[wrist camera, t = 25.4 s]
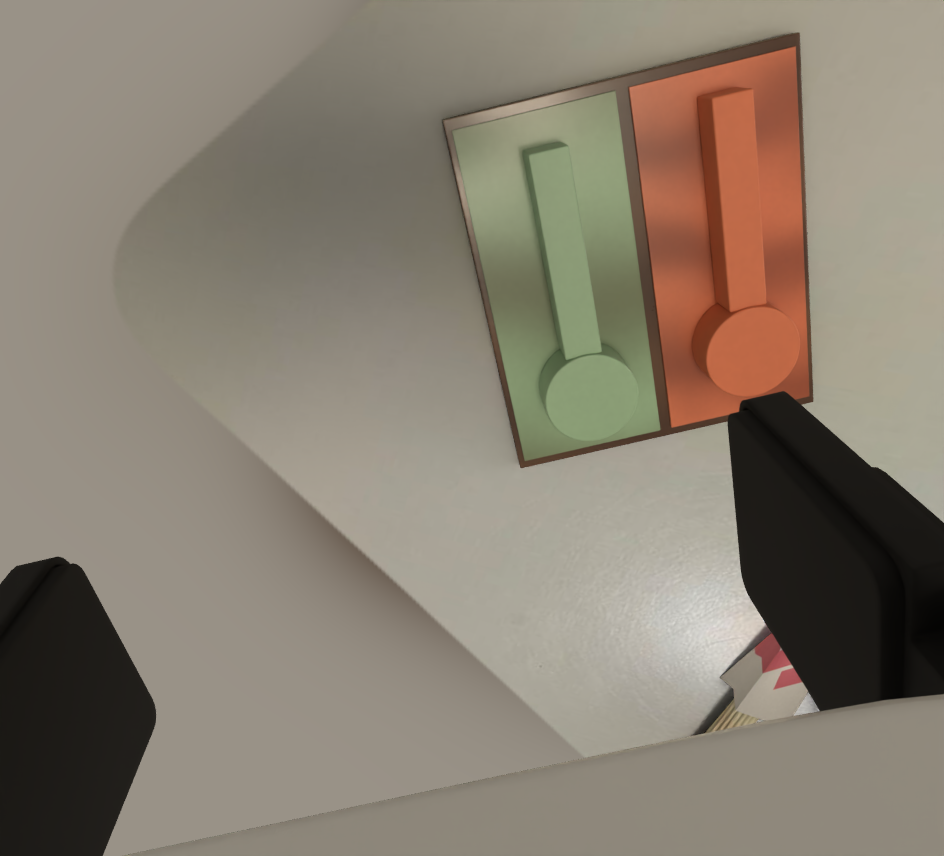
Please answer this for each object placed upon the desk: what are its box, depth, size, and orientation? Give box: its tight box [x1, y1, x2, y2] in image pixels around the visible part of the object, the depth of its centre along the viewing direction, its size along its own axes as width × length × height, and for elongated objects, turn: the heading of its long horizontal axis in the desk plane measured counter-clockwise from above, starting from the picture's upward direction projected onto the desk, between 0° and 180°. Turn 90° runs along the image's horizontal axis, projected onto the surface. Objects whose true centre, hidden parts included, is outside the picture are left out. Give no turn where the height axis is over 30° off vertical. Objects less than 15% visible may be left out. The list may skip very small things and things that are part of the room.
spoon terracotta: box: [692, 87, 800, 397], centre depth 36 cm, size 14×5×2 cm, turn 13°
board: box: [442, 33, 813, 468], centre depth 38 cm, size 18×16×1 cm
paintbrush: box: [705, 633, 808, 733], centre depth 49 cm, size 4×3×20 cm
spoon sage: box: [523, 141, 638, 441], centre depth 37 cm, size 14×5×2 cm, turn 13°
